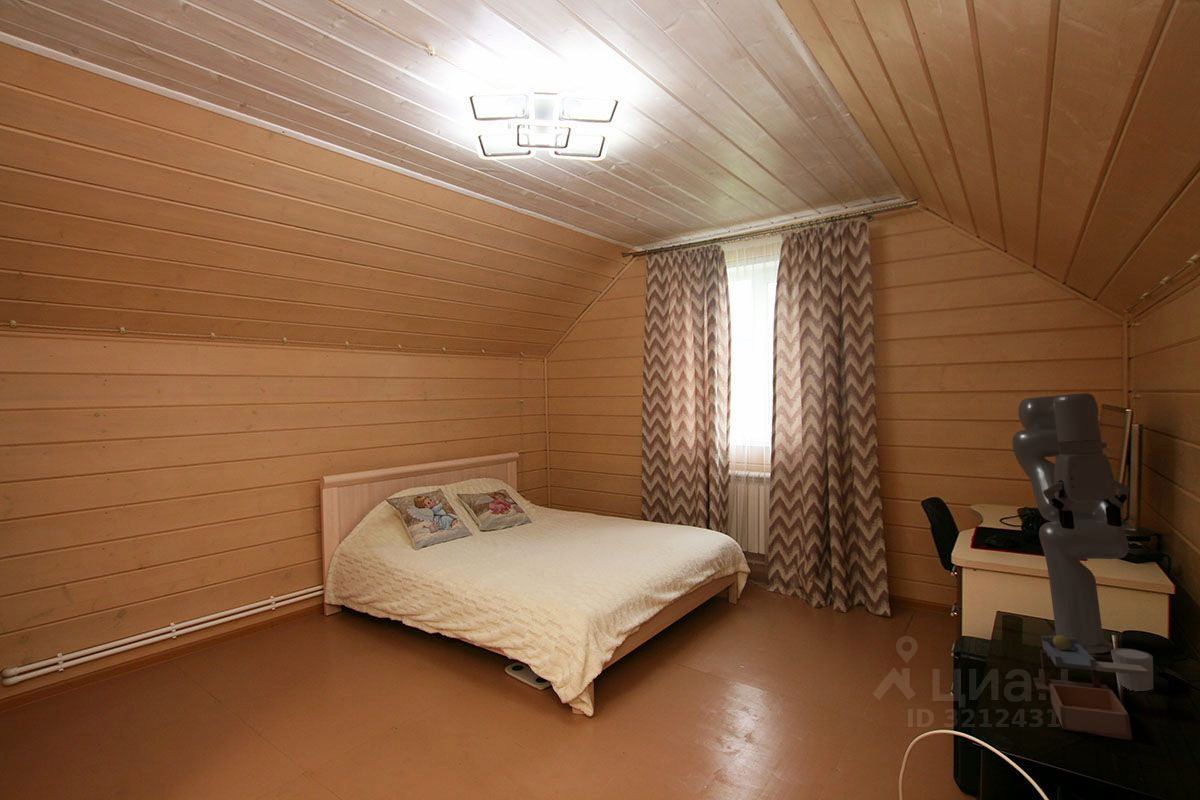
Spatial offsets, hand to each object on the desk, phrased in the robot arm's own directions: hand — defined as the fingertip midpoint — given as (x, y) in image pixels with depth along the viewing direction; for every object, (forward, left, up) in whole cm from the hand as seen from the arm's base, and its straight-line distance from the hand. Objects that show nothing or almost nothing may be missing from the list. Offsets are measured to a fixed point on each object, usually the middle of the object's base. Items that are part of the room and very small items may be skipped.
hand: (1091, 527), depth 129 cm
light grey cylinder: (-3, +4, -35) cm, 35 cm away
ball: (-3, -8, -27) cm, 28 cm away
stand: (+3, -8, -35) cm, 36 cm away
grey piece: (+3, -4, -29) cm, 29 cm away
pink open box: (+18, -8, -35) cm, 40 cm away
